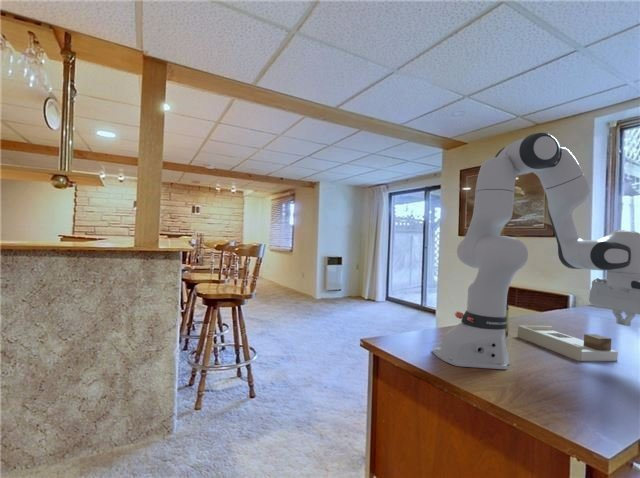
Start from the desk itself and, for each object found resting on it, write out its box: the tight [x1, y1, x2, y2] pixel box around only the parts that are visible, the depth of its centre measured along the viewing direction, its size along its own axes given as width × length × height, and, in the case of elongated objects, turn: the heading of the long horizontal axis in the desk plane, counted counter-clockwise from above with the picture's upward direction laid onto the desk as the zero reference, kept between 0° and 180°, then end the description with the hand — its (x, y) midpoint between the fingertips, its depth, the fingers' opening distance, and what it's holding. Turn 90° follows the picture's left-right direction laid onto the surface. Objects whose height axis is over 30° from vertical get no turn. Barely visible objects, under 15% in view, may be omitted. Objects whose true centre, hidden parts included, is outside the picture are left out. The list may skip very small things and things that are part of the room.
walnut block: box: [583, 333, 612, 351], centre depth 110 cm, size 5×5×4 cm
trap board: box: [517, 325, 619, 362], centre depth 119 cm, size 15×26×4 cm, turn 9°
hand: (623, 324), depth 103 cm, fingers closed
